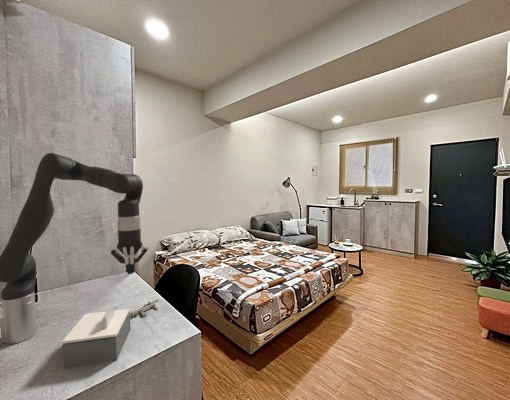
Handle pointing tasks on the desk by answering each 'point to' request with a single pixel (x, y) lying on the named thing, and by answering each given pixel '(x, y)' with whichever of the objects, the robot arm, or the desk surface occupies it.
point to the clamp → (134, 313)
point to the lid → (97, 325)
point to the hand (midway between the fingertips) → (130, 273)
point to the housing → (95, 348)
